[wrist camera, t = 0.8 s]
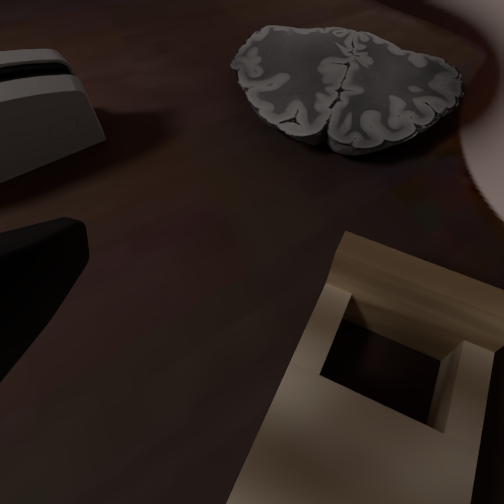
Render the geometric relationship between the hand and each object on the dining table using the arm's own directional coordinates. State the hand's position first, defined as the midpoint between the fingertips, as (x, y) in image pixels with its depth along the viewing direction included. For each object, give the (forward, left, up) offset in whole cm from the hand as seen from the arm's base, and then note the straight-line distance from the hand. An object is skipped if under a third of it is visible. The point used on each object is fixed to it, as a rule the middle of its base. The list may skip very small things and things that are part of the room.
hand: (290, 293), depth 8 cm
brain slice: (+26, -12, -16) cm, 33 cm away
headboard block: (-1, -5, -16) cm, 16 cm away
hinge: (+22, +16, -16) cm, 32 cm away
